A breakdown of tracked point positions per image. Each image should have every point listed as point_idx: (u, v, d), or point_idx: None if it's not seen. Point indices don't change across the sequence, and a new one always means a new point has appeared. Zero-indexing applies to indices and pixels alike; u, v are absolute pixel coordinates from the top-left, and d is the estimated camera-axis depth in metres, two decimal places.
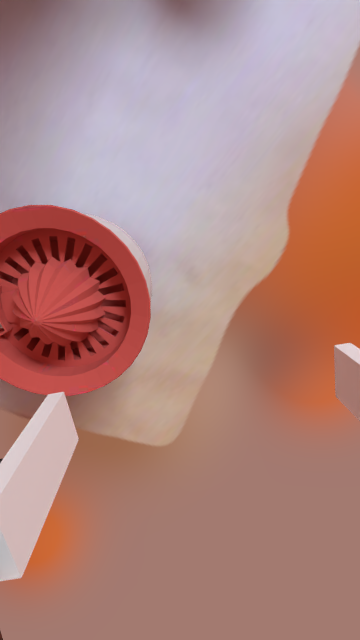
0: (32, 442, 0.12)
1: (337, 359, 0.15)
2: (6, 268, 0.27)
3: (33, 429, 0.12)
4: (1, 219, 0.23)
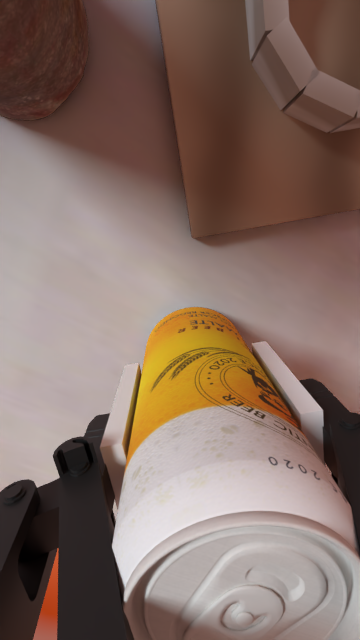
0: (131, 399, 0.13)
1: (254, 355, 0.17)
2: None
3: (126, 390, 0.14)
4: None
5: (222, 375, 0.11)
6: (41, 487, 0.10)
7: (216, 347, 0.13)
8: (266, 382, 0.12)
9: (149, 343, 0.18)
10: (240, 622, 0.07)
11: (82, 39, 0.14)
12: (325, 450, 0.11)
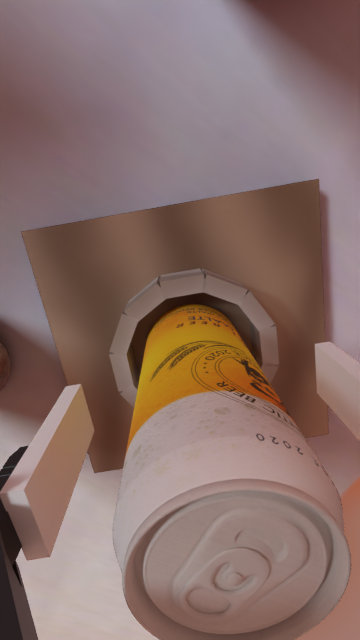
0: (56, 430, 0.12)
1: (317, 357, 0.15)
2: None
3: (55, 418, 0.13)
4: None
5: (217, 365, 0.11)
6: None
7: (212, 340, 0.14)
8: (259, 372, 0.12)
9: (149, 338, 0.19)
10: (230, 581, 0.07)
11: (3, 374, 0.21)
12: None
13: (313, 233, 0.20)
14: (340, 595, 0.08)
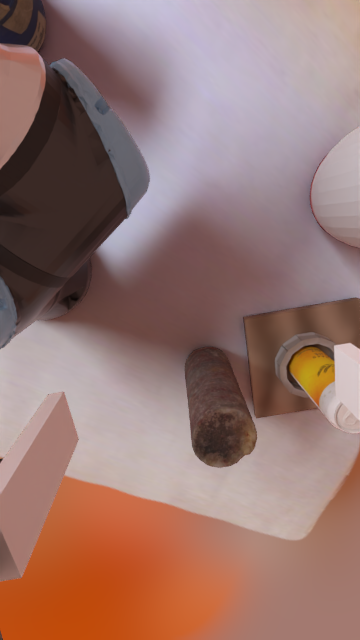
0: (32, 442, 0.12)
1: (337, 359, 0.15)
2: None
3: (33, 429, 0.12)
4: None
5: None
6: None
7: (332, 363, 0.44)
8: None
9: (296, 360, 0.49)
10: None
11: None
12: None
13: (357, 318, 0.50)
14: None
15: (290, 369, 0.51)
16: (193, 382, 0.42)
